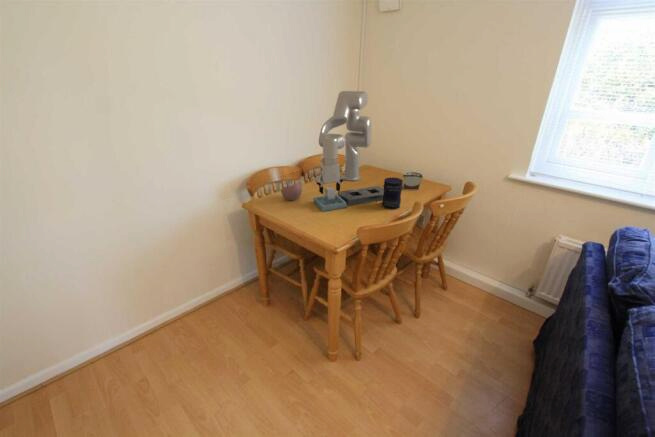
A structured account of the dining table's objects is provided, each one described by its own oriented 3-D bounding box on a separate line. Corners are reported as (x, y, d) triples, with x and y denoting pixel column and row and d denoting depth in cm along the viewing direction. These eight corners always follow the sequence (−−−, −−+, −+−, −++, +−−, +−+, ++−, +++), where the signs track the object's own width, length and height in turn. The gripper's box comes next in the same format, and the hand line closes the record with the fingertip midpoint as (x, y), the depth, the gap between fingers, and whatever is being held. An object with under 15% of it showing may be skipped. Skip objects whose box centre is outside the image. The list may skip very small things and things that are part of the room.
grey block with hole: (337, 197, 180) (337, 191, 178) (378, 191, 189) (378, 185, 188) (348, 205, 168) (348, 200, 166) (390, 198, 178) (391, 193, 176)
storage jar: (396, 211, 162) (399, 184, 156) (379, 207, 167) (381, 181, 160) (402, 204, 170) (405, 179, 163) (386, 201, 174) (388, 176, 168)
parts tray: (313, 202, 172) (313, 197, 171) (335, 198, 177) (336, 194, 176) (322, 211, 161) (322, 206, 159) (346, 207, 166) (346, 202, 164)
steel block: (324, 202, 170) (324, 187, 166) (331, 201, 171) (332, 186, 167) (327, 205, 166) (327, 190, 162) (335, 204, 168) (335, 189, 164)
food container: (419, 186, 197) (421, 171, 193) (420, 190, 191) (423, 174, 187) (400, 186, 198) (401, 171, 194) (401, 189, 192) (402, 174, 188)
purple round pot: (293, 194, 184) (292, 176, 179) (306, 199, 176) (306, 180, 171) (277, 199, 176) (276, 180, 171) (290, 205, 169) (289, 185, 164)
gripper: (317, 164, 152) (317, 196, 159) (348, 161, 158) (347, 192, 165) (312, 161, 158) (312, 191, 166) (341, 157, 164) (341, 187, 172)
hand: (329, 191), depth 166 cm, fingers open, 9 cm apart
